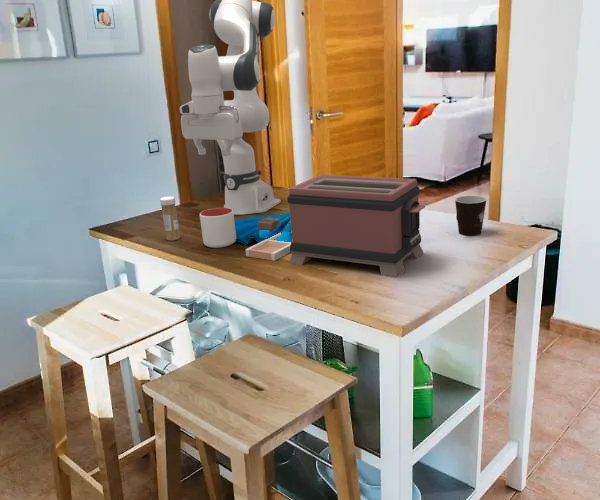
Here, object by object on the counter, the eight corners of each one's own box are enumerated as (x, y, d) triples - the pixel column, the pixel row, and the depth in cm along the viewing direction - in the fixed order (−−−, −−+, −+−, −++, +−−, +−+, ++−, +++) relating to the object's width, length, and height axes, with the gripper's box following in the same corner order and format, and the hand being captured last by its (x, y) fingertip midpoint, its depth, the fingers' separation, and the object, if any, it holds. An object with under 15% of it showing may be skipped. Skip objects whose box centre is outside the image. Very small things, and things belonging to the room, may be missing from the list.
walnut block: (268, 233, 190) (267, 217, 188) (281, 234, 187) (279, 219, 185) (258, 237, 186) (257, 222, 184) (271, 239, 183) (270, 223, 182)
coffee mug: (472, 226, 180) (473, 194, 177) (491, 233, 173) (492, 199, 170) (440, 233, 176) (440, 200, 173) (458, 241, 169) (458, 206, 166)
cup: (241, 238, 186) (238, 207, 183) (229, 249, 177) (225, 216, 174) (211, 238, 189) (207, 207, 185) (198, 248, 179) (193, 216, 176)
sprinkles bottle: (182, 238, 190) (176, 197, 186) (169, 242, 188) (162, 200, 184) (177, 235, 194) (171, 195, 190) (163, 238, 192) (157, 197, 187)
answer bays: (284, 236, 184) (284, 230, 184) (312, 240, 179) (311, 234, 178) (246, 256, 170) (245, 249, 169) (274, 260, 164) (274, 253, 164)
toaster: (408, 279, 145) (407, 196, 138) (288, 263, 162) (282, 188, 155) (434, 254, 160) (434, 178, 154) (322, 241, 177) (318, 173, 171)
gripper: (244, 104, 165) (249, 154, 170) (190, 104, 176) (196, 151, 181) (229, 107, 160) (235, 158, 165) (175, 107, 171) (181, 155, 176)
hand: (214, 155), depth 173 cm, fingers open, 8 cm apart
